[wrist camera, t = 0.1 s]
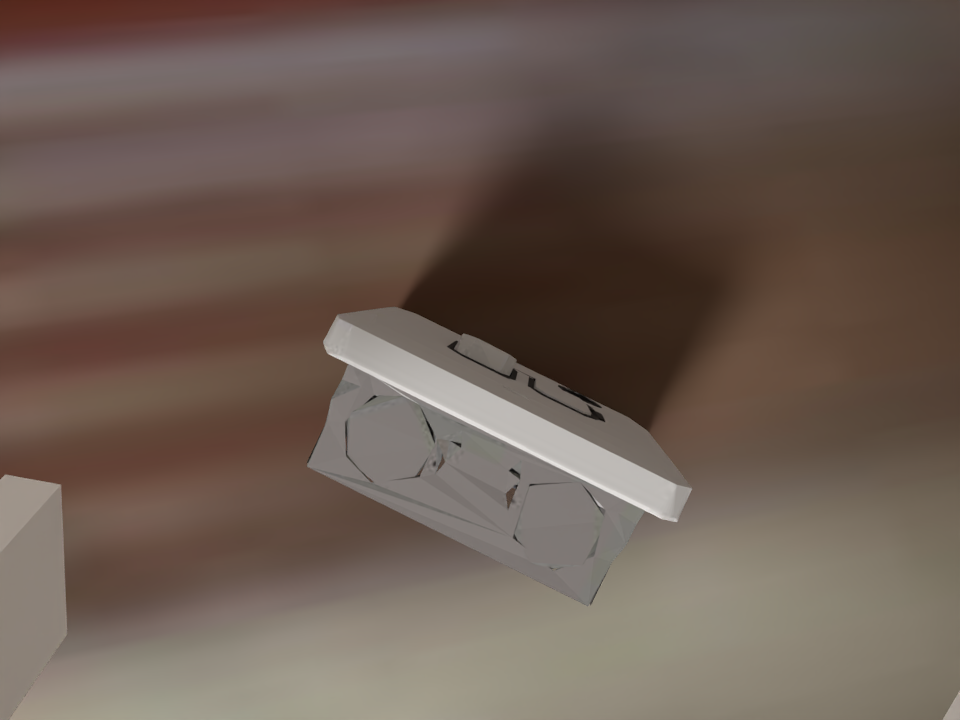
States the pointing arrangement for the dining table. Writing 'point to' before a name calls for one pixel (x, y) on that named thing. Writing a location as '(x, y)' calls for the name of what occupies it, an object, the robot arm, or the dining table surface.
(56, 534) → the robot arm
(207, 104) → the dining table surface
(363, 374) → the electrical switch
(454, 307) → the dining table surface
